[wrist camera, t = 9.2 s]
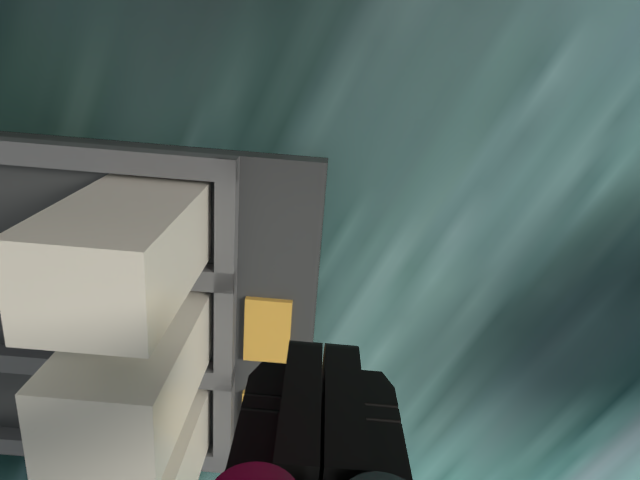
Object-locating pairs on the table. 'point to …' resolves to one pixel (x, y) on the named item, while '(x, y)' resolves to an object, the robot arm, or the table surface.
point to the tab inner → (105, 266)
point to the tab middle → (115, 404)
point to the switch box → (220, 271)
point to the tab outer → (191, 441)
